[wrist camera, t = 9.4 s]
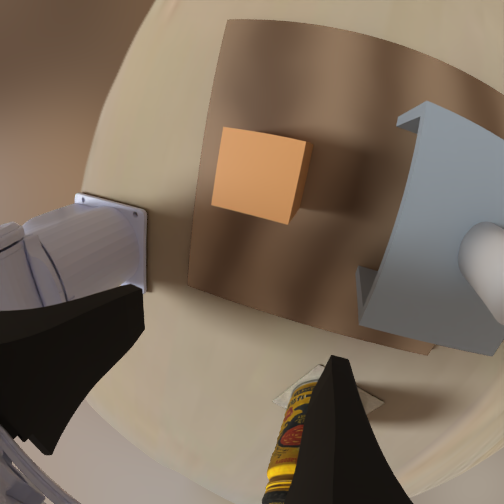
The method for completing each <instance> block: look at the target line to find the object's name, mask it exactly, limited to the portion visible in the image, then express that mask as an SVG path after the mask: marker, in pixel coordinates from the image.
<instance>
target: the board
mask: <svg viewBox="0 0 504 504" xmlns="http://www.w3.org/2000/svg"><path fill="white" fill-rule="evenodd" d="M425 101H429V102H431V103H434V104H436V105H438V106H441V107H443V108H445V109H447V110H450V111H452V112H454V113H456V114H458V115H460V116H462V117H464V118H466V119H468V120H470V121H472V122H474V123H475V124H477V125H479V126H481V127H483V128H485V129H486V130H488V131H490V132H491V133H493V134H495V135H496V136H498V137H500V138H501V139H503V140H504V95H503V94H501V93H500V92H498V91H497V90H495V89H493V88H492V87H490V86H488V85H487V84H485V83H483V82H482V81H480V80H478V79H476V78H474V77H473V76H471V75H469V74H467V73H465V72H463V71H461V70H459V69H457V68H455V67H453V66H451V65H449V64H447V63H445V62H442V61H440V60H438V59H436V58H433V57H431V56H428V55H426V54H423V53H421V52H418V51H416V50H413V49H410V48H407V47H405V46H402V45H399V44H396V43H393V42H389V41H386V40H383V39H379V38H376V37H372V36H368V35H365V34H360V33H356V32H352V31H347V30H343V29H338V28H332V27H327V26H320V25H314V24H306V23H298V22H288V21H275V20H250V19H236V20H227V24H226V28H225V32H224V36H223V40H222V45H221V49H220V53H219V58H218V63H217V67H216V72H215V77H214V82H213V87H212V92H211V98H210V103H209V109H208V114H207V120H206V126H205V132H204V138H203V145H202V152H201V158H200V165H199V173H198V180H197V188H196V196H195V205H194V214H193V223H192V233H191V244H190V255H189V268H188V282H187V285H188V286H190V287H193V288H196V289H199V290H202V291H204V292H207V293H210V294H213V295H216V296H219V297H222V298H224V299H227V300H230V301H233V302H236V303H239V304H242V305H245V306H248V307H251V308H254V309H257V310H261V311H264V312H267V313H270V314H273V315H276V316H280V317H283V318H286V319H289V320H293V321H296V322H299V323H303V324H306V325H309V326H313V327H316V328H320V329H323V330H327V331H330V332H334V333H338V334H341V335H345V336H349V337H352V338H356V339H360V340H364V341H368V342H372V343H376V344H380V345H384V346H388V347H392V348H396V349H400V350H405V351H409V352H413V353H418V354H423V355H427V356H428V354H429V353H430V351H431V350H432V348H433V347H434V345H435V344H432V343H428V342H424V341H419V340H415V339H411V338H407V337H403V336H399V335H395V334H391V333H387V332H383V331H380V330H376V329H372V328H368V327H364V326H361V325H359V320H358V302H357V288H356V276H355V273H356V270H357V268H358V265H359V266H362V267H365V268H369V269H372V270H375V271H378V270H379V267H380V264H381V262H382V259H383V256H384V254H385V251H386V248H387V245H388V242H389V239H390V236H391V233H392V230H393V227H394V224H395V221H396V218H397V214H398V211H399V208H400V204H401V201H402V197H403V194H404V190H405V186H406V183H407V179H408V175H409V171H410V167H411V162H412V158H413V153H414V149H415V144H416V139H417V134H416V133H413V132H410V131H408V130H405V129H402V128H399V127H396V125H397V120H398V117H399V116H401V115H402V114H404V113H406V112H408V111H409V110H411V109H413V108H415V107H416V106H418V105H420V104H422V103H424V102H425ZM223 127H228V128H235V129H242V130H249V131H255V132H261V133H266V134H272V135H277V136H282V137H287V138H292V139H297V140H301V141H306V142H309V143H312V144H314V145H313V150H312V155H311V159H310V164H309V169H308V173H307V178H306V182H305V187H304V191H303V196H302V200H301V204H300V208H299V210H298V211H297V213H296V214H295V216H294V217H293V218H292V220H291V221H290V223H289V224H288V225H287V224H283V223H279V222H276V221H272V220H268V219H264V218H260V217H257V216H253V215H249V214H245V213H241V212H237V211H233V210H229V209H225V208H221V207H217V206H213V205H211V203H212V196H213V189H214V182H215V175H216V168H217V162H218V155H219V149H220V143H221V137H222V131H223Z"/></svg>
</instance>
